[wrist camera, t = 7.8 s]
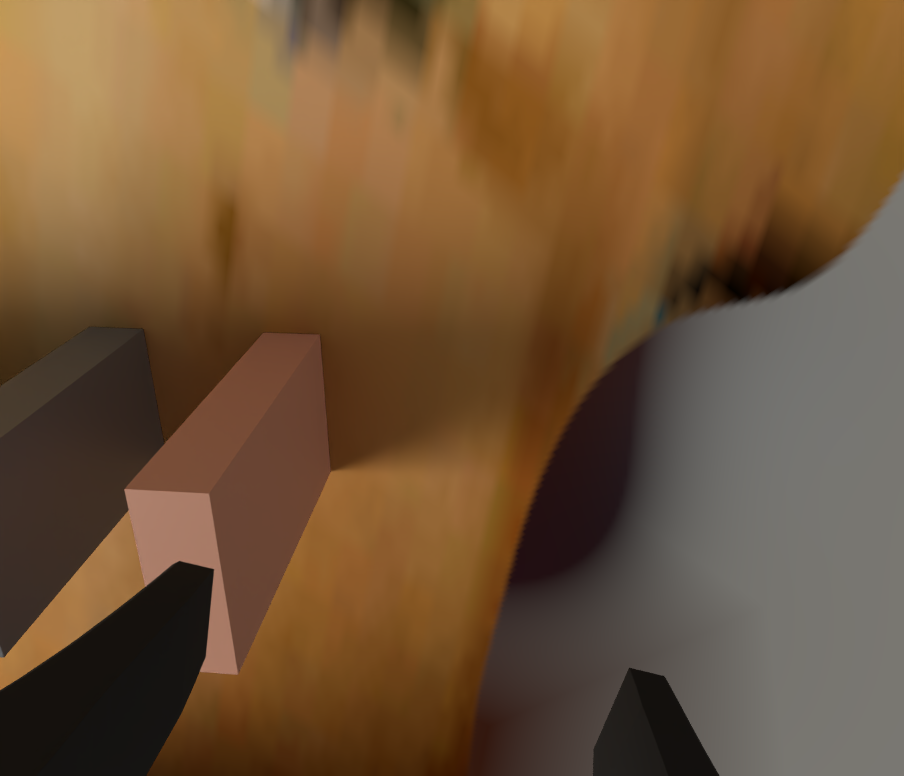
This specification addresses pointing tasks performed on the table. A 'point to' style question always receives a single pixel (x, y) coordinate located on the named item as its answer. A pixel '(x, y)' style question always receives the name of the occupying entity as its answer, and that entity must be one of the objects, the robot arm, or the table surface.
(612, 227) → the table surface
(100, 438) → the domino
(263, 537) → the domino
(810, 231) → the table surface
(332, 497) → the table surface
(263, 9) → the table surface
